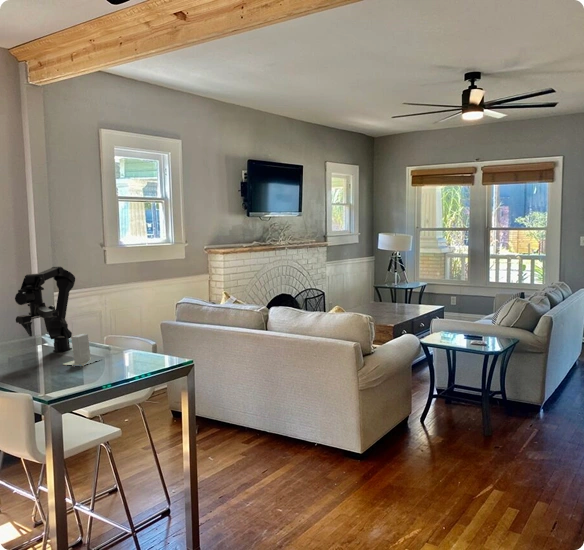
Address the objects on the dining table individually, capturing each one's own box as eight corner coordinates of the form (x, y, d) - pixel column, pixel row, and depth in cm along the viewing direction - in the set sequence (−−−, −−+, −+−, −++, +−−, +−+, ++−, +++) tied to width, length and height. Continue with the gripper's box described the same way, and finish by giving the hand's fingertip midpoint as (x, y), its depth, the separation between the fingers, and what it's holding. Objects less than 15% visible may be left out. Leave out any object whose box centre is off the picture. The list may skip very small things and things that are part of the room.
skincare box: (84, 359, 250) (81, 333, 248) (91, 359, 248) (88, 334, 246) (73, 363, 244) (70, 336, 243) (80, 363, 242) (77, 337, 241)
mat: (84, 357, 254) (84, 356, 254) (102, 359, 248) (102, 359, 248) (62, 364, 244) (62, 364, 243) (81, 367, 238) (81, 366, 238)
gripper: (28, 305, 241) (32, 339, 243) (64, 298, 257) (68, 330, 259) (13, 304, 246) (17, 338, 248) (49, 297, 263) (52, 329, 264)
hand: (39, 334), depth 255 cm, fingers open, 9 cm apart
